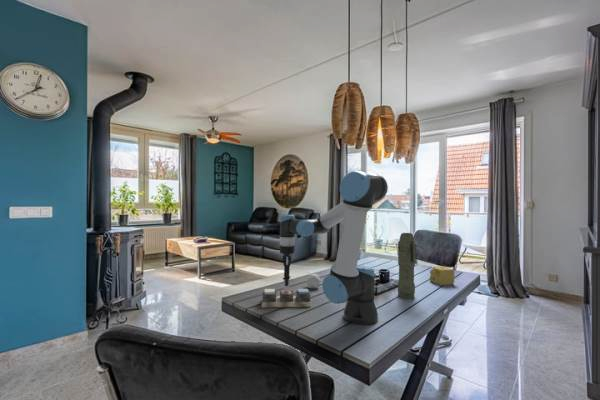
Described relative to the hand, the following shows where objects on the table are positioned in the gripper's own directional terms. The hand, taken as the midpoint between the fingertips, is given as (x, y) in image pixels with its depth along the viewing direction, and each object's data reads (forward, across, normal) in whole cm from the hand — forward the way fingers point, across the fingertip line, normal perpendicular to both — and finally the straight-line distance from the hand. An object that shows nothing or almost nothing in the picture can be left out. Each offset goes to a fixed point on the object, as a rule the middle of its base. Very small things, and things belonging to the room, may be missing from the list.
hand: (286, 291), depth 145 cm
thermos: (+6, +9, -66) cm, 67 cm away
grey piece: (+6, 0, 0) cm, 6 cm away
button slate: (+2, 0, -9) cm, 9 cm away
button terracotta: (+3, 0, 0) cm, 3 cm away
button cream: (+2, 0, +8) cm, 9 cm away
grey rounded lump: (+6, +26, -17) cm, 32 cm away
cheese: (+6, +35, -102) cm, 108 cm away
